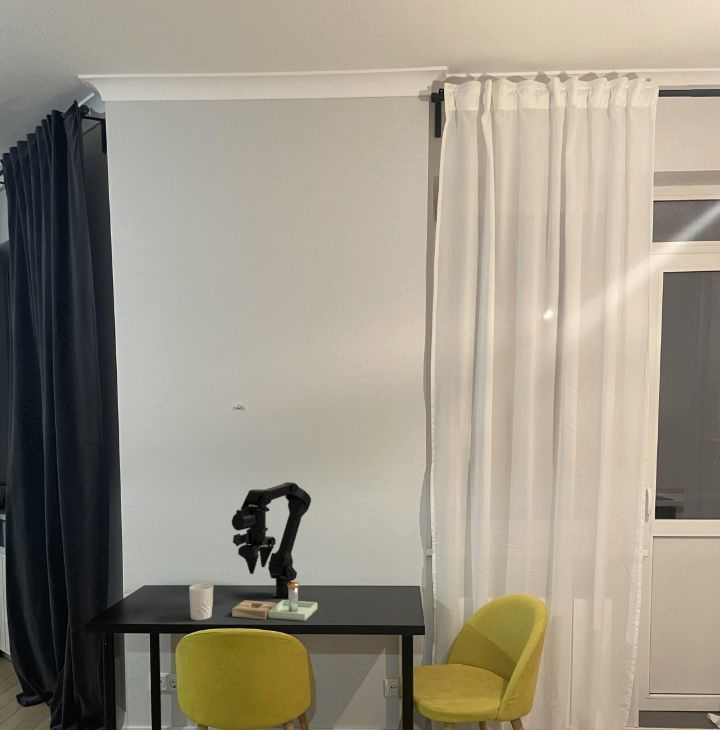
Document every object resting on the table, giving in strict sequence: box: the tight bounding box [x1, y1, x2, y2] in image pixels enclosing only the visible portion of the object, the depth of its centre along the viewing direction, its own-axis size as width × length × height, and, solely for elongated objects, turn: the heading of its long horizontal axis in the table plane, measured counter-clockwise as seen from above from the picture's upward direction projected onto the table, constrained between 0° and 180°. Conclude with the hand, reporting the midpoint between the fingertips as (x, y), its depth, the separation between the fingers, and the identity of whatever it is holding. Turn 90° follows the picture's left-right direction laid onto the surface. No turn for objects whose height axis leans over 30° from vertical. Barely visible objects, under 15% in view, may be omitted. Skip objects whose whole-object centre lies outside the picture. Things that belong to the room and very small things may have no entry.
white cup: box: [188, 582, 214, 621], centre depth 197 cm, size 8×8×10 cm
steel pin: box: [287, 581, 300, 613], centre depth 200 cm, size 4×4×9 cm
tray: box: [267, 599, 318, 622], centre depth 199 cm, size 12×13×2 cm
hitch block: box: [231, 599, 277, 620], centre depth 200 cm, size 9×12×2 cm
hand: (257, 570), depth 207 cm, fingers open, 9 cm apart
